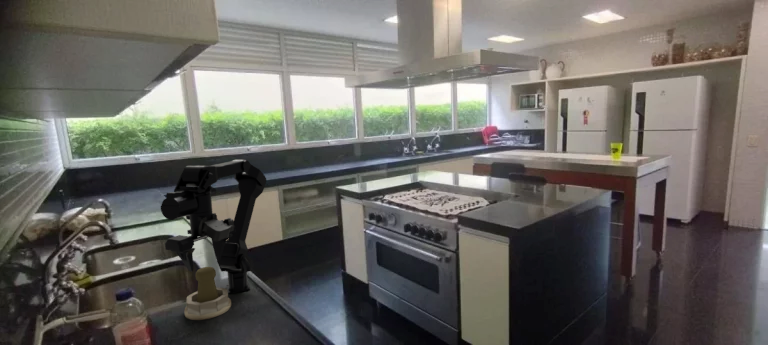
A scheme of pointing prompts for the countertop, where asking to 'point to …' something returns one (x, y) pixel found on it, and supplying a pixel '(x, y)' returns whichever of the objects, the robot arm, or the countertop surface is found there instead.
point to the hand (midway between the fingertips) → (205, 265)
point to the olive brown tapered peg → (206, 284)
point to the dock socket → (207, 306)
